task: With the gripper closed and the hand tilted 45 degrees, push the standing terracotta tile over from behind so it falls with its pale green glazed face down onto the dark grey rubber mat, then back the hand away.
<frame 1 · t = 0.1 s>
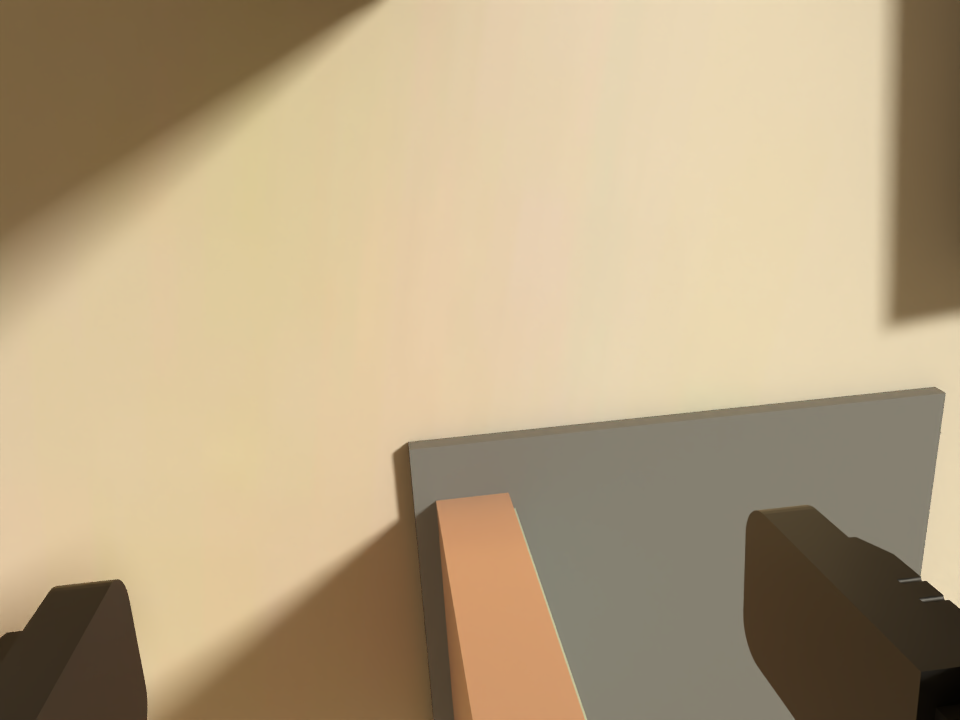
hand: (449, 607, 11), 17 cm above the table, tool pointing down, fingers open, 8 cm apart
mat: (675, 584, 32), on the table
tile: (480, 619, 31), point 1 cm above the table, touching mat
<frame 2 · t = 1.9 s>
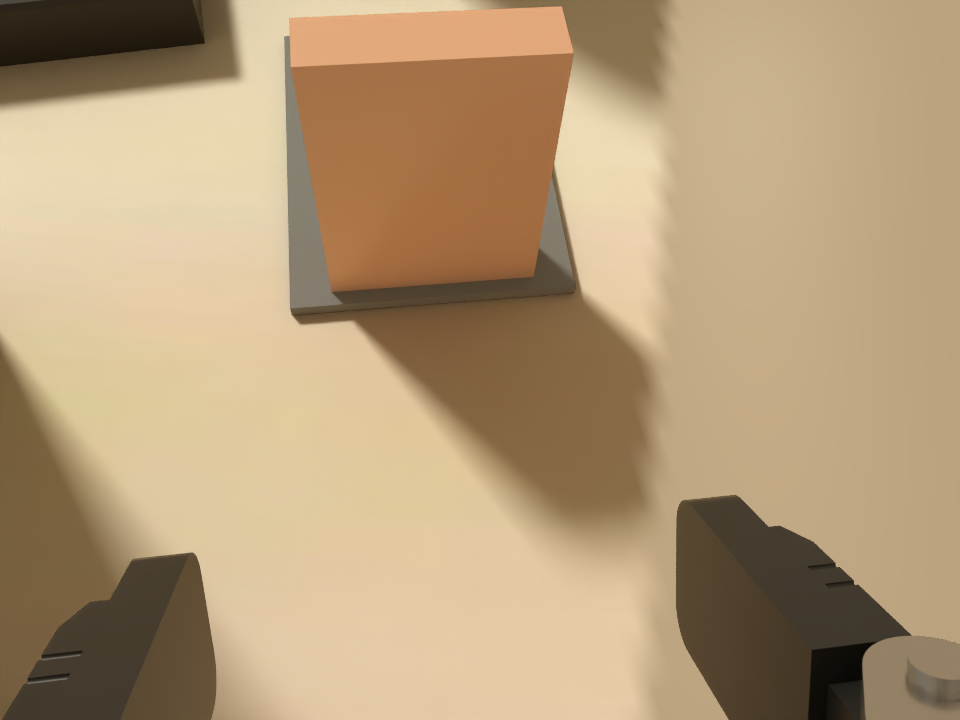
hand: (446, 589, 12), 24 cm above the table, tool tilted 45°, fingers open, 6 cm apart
mat: (418, 158, 47), on the table
tile: (431, 263, 43), point 1 cm above the table, touching mat
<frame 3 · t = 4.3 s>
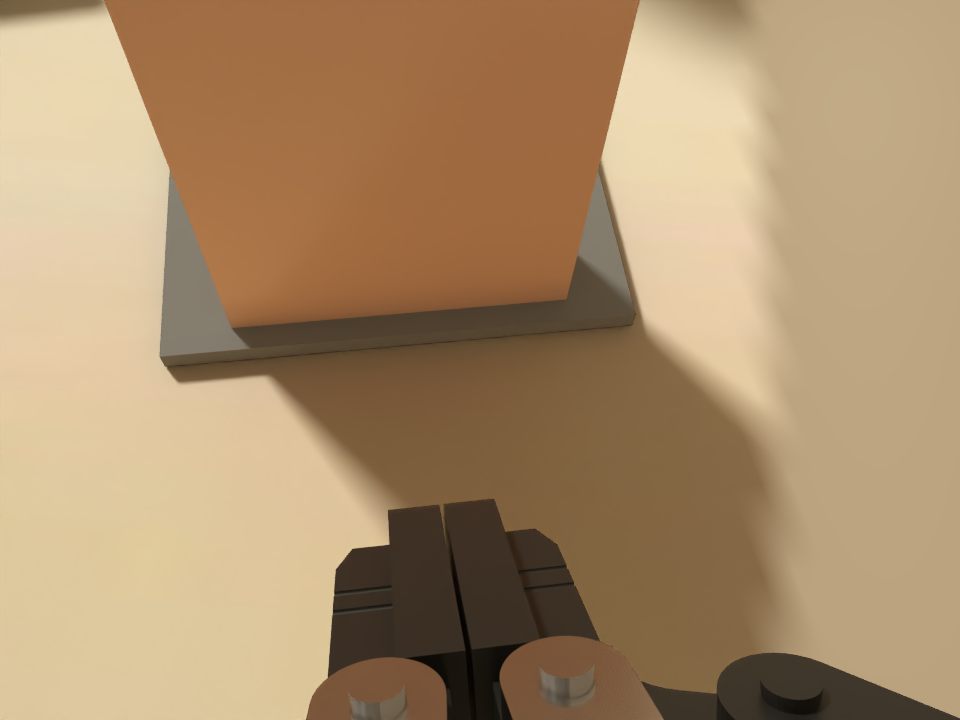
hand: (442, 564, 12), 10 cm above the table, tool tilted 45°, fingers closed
mat: (381, 114, 30), on the table
tile: (398, 279, 26), point 1 cm above the table, touching mat
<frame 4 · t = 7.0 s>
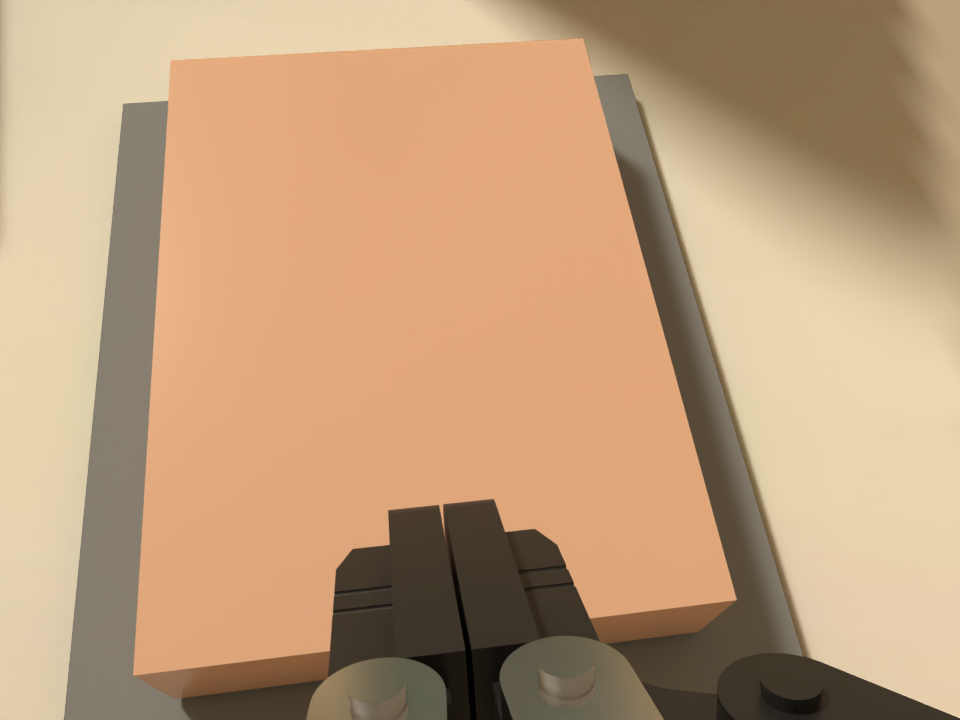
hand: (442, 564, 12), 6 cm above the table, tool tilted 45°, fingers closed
mat: (415, 401, 20), on the table
tile: (445, 651, 15), point 2 cm above the table, tilted 90°, touching mat
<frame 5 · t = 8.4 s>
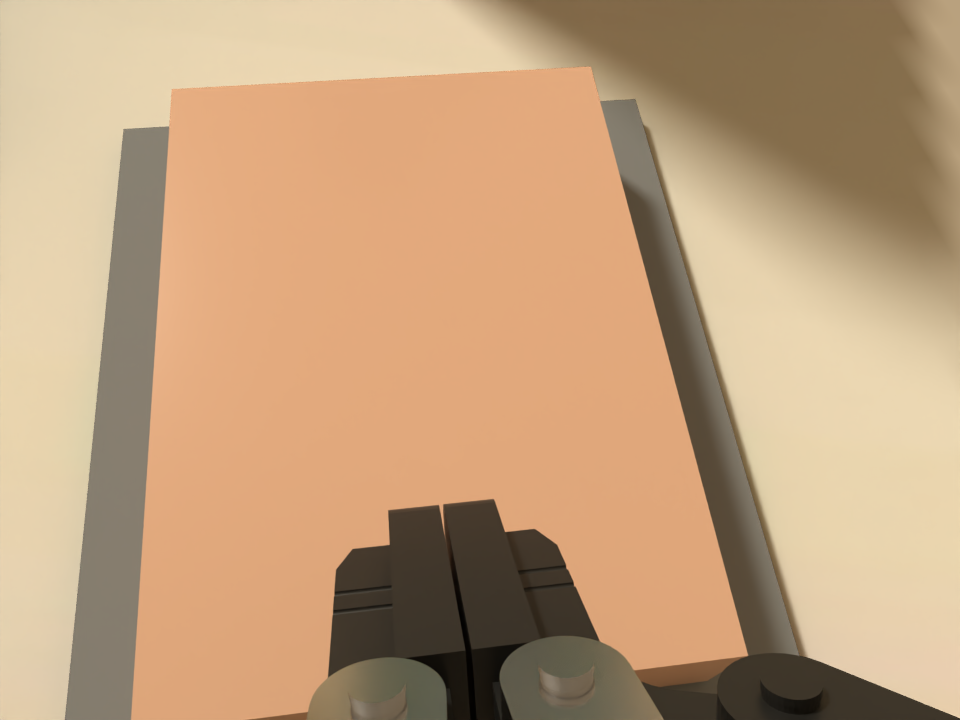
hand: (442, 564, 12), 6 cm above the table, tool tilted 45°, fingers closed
mat: (419, 437, 20), on the table
tile: (449, 704, 15), point 2 cm above the table, tilted 90°, touching mat
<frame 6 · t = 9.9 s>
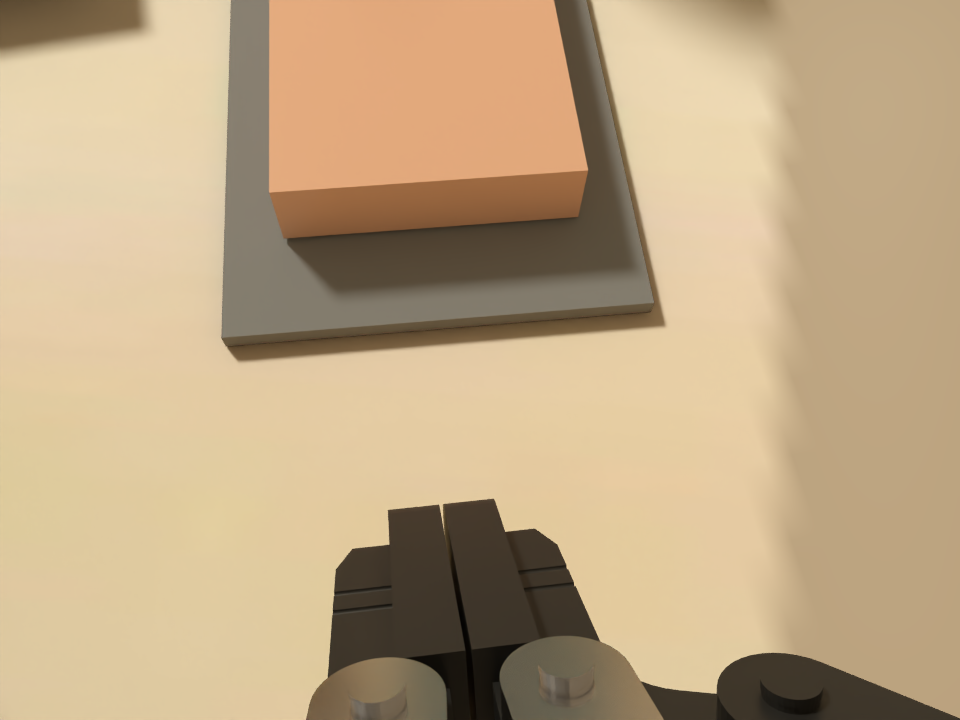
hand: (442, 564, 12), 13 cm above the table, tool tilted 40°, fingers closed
mat: (420, 107, 33), on the table
tile: (431, 205, 28), point 2 cm above the table, tilted 90°, touching mat
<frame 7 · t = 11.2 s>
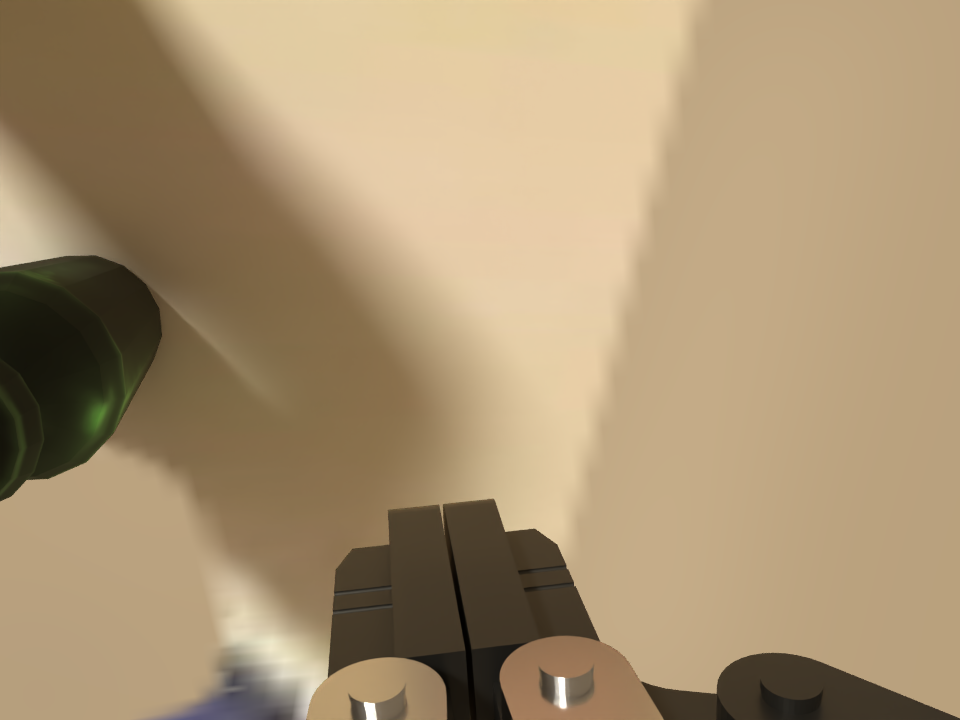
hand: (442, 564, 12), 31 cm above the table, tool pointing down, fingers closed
potion bottle: (93, 321, 41), on the table
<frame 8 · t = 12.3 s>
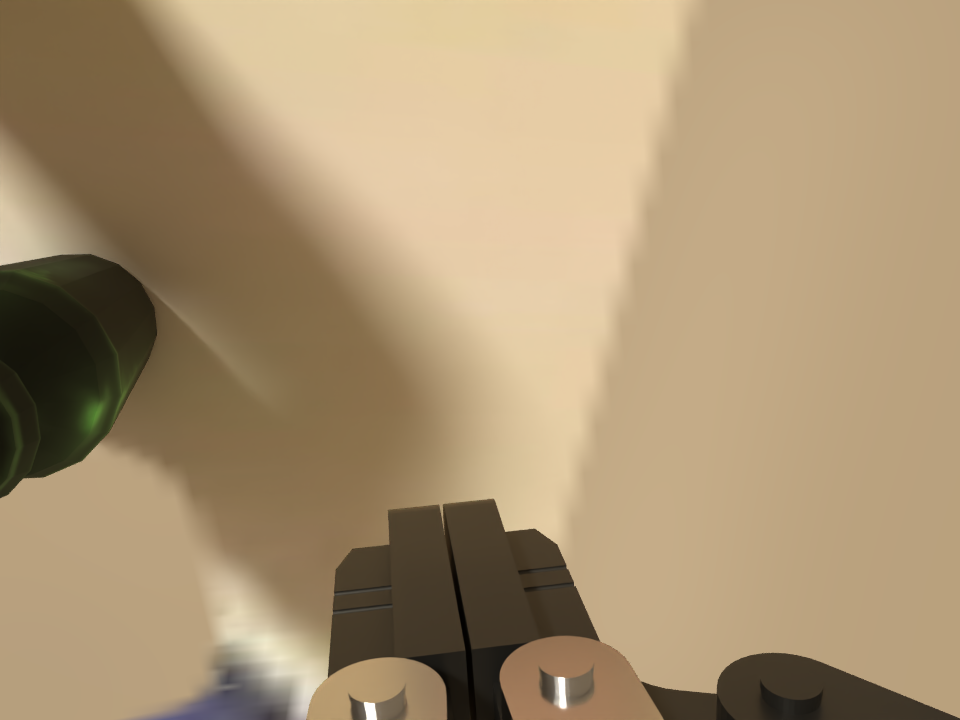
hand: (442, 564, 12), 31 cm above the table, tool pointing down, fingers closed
potion bottle: (88, 320, 41), on the table
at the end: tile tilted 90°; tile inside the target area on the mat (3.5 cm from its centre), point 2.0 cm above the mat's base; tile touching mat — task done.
